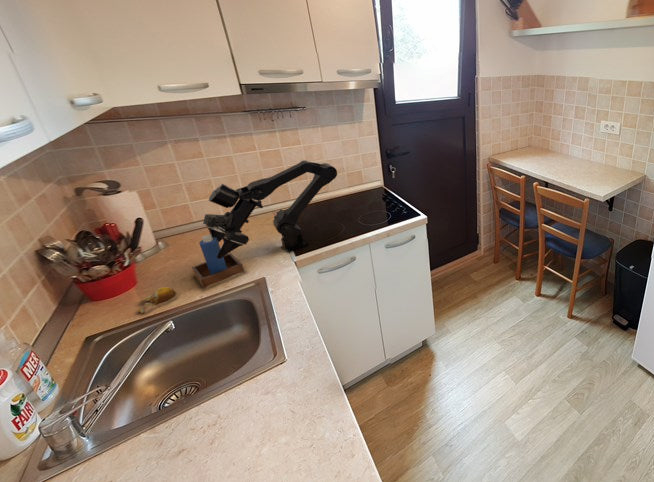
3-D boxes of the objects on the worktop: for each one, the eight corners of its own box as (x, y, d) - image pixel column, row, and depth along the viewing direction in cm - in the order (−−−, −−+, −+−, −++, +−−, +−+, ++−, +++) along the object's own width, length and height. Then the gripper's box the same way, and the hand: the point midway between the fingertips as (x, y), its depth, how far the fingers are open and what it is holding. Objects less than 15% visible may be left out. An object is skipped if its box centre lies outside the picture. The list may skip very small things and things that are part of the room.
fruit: (142, 300, 104) (138, 290, 102) (177, 289, 109) (173, 280, 107) (139, 315, 98) (134, 305, 96) (176, 302, 103) (172, 293, 101)
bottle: (225, 267, 119) (213, 231, 114) (229, 272, 116) (217, 235, 111) (209, 273, 115) (196, 237, 110) (213, 278, 113) (200, 241, 107)
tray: (233, 261, 124) (230, 252, 122) (244, 272, 117) (241, 263, 116) (195, 276, 115) (191, 267, 114) (204, 289, 108) (201, 280, 107)
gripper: (206, 198, 116) (176, 239, 111) (228, 211, 106) (197, 255, 102) (237, 210, 125) (210, 248, 120) (260, 223, 115) (233, 265, 111)
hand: (212, 254), depth 113 cm, fingers open, 9 cm apart
